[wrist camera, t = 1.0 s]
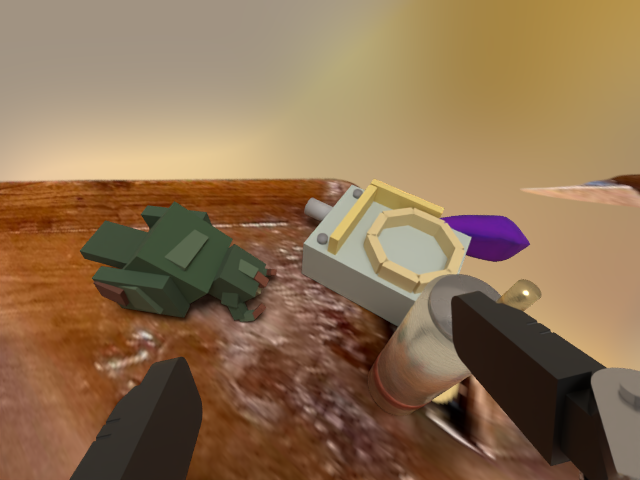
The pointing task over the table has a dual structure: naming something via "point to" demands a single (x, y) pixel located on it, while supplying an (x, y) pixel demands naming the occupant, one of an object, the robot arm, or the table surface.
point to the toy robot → (175, 264)
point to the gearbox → (381, 248)
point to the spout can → (431, 344)
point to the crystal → (489, 236)
